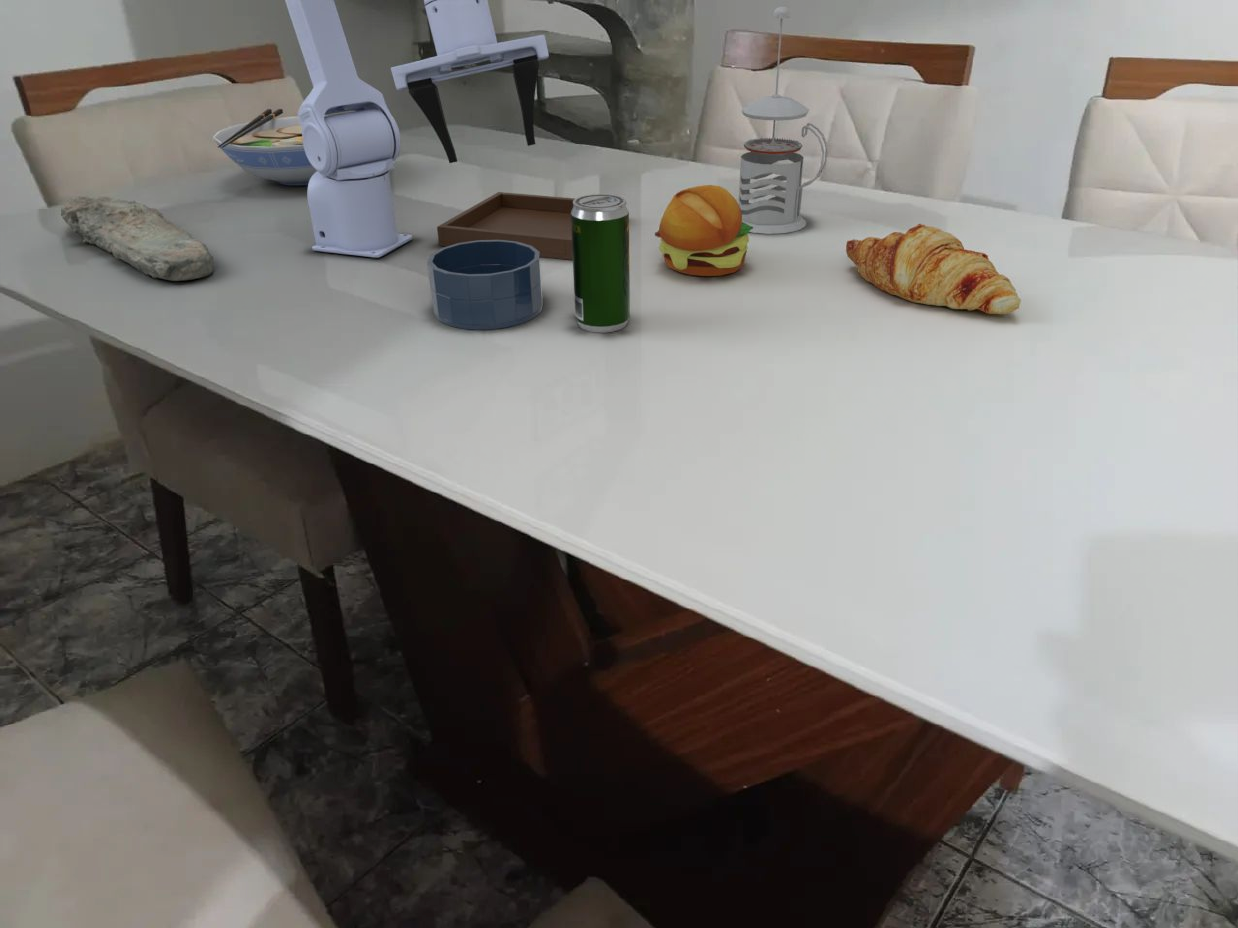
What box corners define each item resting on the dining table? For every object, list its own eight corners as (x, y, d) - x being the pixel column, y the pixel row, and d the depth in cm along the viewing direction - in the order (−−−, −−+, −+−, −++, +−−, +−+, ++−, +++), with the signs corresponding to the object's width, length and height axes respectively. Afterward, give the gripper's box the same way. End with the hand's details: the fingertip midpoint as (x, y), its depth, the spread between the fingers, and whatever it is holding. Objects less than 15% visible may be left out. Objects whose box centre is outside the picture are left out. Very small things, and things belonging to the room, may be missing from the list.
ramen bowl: (356, 201, 132) (347, 141, 127) (196, 203, 132) (181, 143, 128) (395, 160, 153) (388, 107, 149) (257, 161, 153) (246, 109, 149)
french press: (744, 208, 126) (755, 2, 113) (829, 218, 121) (850, 4, 108) (718, 228, 118) (727, 9, 105) (807, 239, 114) (828, 12, 101)
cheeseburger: (763, 254, 108) (763, 175, 101) (732, 306, 102) (731, 224, 95) (681, 243, 112) (676, 165, 105) (647, 292, 105) (639, 212, 98)
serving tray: (438, 246, 114) (436, 226, 112) (499, 209, 127) (498, 191, 126) (572, 260, 108) (571, 240, 107) (621, 220, 122) (620, 202, 120)
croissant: (1023, 346, 94) (1061, 270, 92) (982, 325, 86) (1022, 242, 85) (856, 286, 108) (885, 219, 106) (808, 263, 101) (839, 192, 99)
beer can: (594, 338, 89) (590, 213, 82) (565, 320, 93) (559, 199, 86) (640, 325, 91) (640, 202, 85) (610, 309, 95) (608, 190, 89)
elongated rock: (152, 305, 101) (241, 287, 108) (142, 258, 99) (234, 242, 105) (46, 223, 122) (125, 212, 128) (35, 183, 119) (117, 173, 126)
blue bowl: (414, 322, 93) (407, 268, 90) (466, 285, 102) (461, 235, 99) (514, 335, 90) (509, 280, 87) (559, 296, 98) (556, 245, 96)
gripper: (372, 11, 81) (415, 170, 86) (534, -24, 82) (568, 136, 86) (381, 22, 88) (421, 169, 92) (531, -10, 89) (563, 138, 93)
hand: (492, 154), depth 90 cm, fingers open, 7 cm apart
